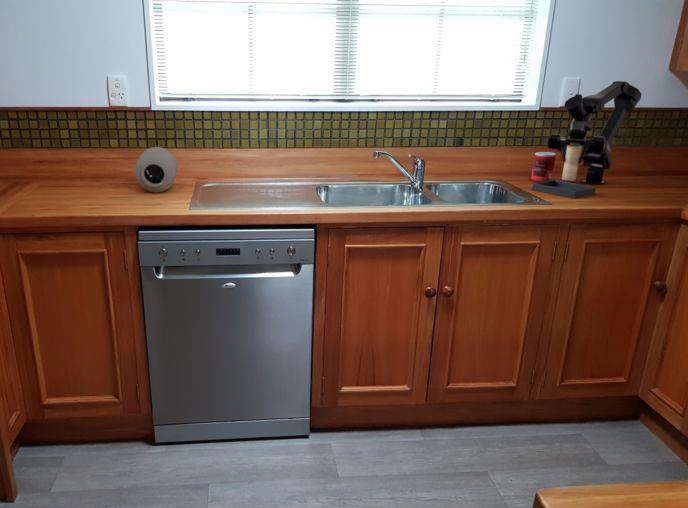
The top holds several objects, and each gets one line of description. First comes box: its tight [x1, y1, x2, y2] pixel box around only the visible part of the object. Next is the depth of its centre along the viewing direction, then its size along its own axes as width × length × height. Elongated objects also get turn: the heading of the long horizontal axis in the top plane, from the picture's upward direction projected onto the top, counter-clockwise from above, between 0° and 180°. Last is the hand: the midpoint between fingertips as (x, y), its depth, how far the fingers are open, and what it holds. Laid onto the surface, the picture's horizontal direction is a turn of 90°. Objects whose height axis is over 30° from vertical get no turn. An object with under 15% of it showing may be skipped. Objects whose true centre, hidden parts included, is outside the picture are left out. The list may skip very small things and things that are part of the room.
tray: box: [531, 179, 597, 199], centre depth 226 cm, size 13×17×2 cm
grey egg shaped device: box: [133, 146, 178, 194], centre depth 222 cm, size 19×15×25 cm
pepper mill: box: [561, 143, 583, 182], centre depth 219 cm, size 5×5×13 cm
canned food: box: [531, 151, 557, 183], centre depth 243 cm, size 8×8×11 cm
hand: (571, 161), depth 218 cm, fingers closed on pepper mill, 5 cm apart
